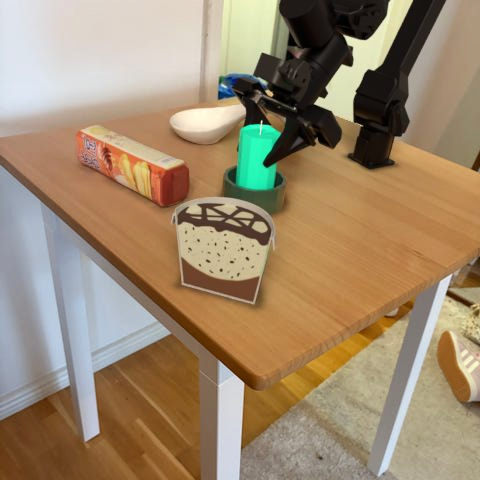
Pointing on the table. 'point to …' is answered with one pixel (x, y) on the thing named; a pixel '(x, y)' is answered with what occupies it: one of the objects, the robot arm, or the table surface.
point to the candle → (256, 157)
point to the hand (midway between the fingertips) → (251, 159)
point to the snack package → (134, 164)
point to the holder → (256, 191)
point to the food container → (223, 246)
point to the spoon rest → (209, 122)
